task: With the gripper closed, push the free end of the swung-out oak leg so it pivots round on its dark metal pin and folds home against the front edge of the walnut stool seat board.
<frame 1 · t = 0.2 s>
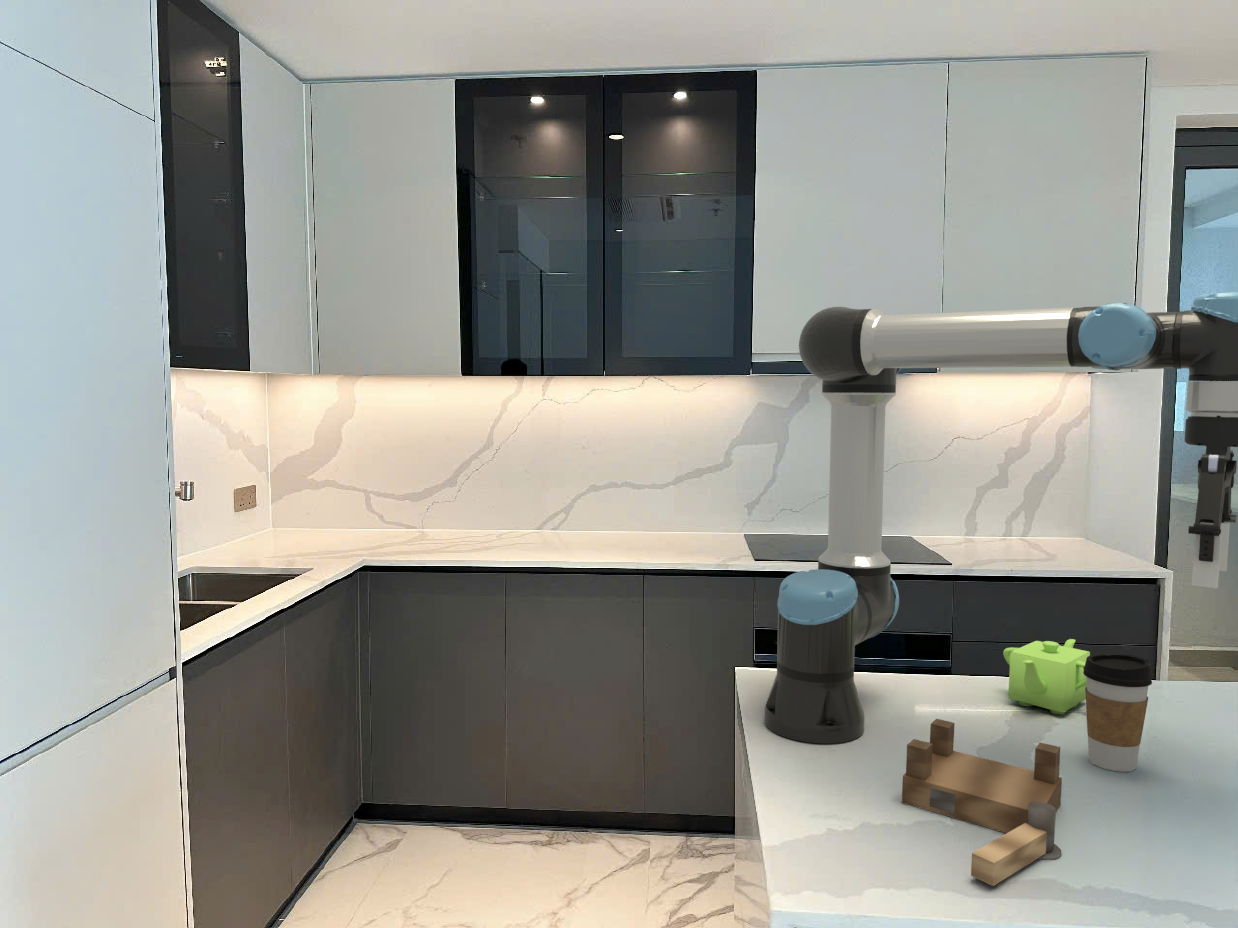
hand: (1209, 577, 116), 28 cm above the counter, fingers open, 13 cm apart
hinged leg: (1016, 840, 97), point 3 cm above the counter, hinge at 75.0°
coffee cup: (1112, 764, 124), on the counter
stool top: (981, 803, 112), on the counter
teapot: (1047, 705, 148), on the counter
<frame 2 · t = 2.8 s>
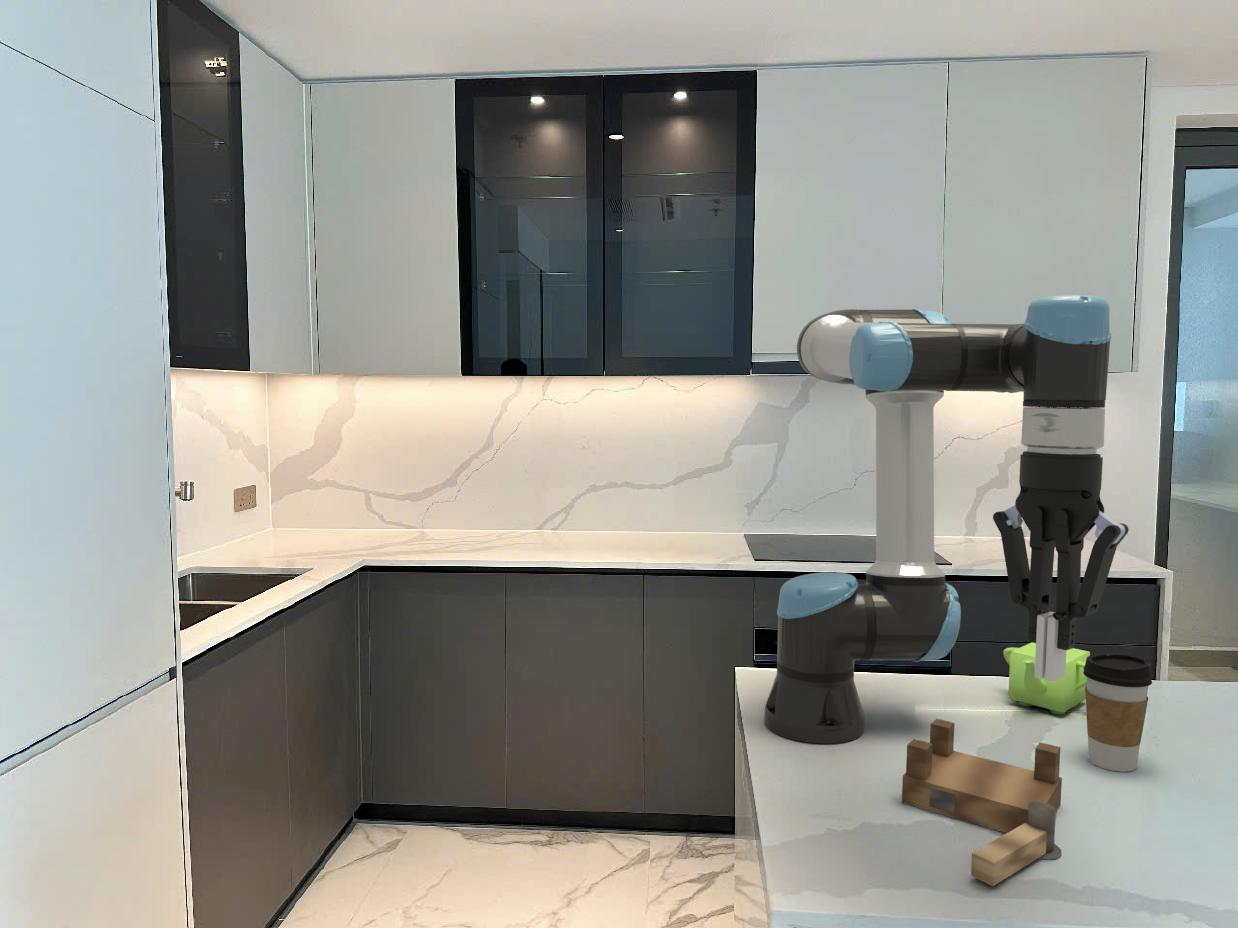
hand: (1049, 676, 92), 22 cm above the counter, fingers closed
nothing on the counter moved.
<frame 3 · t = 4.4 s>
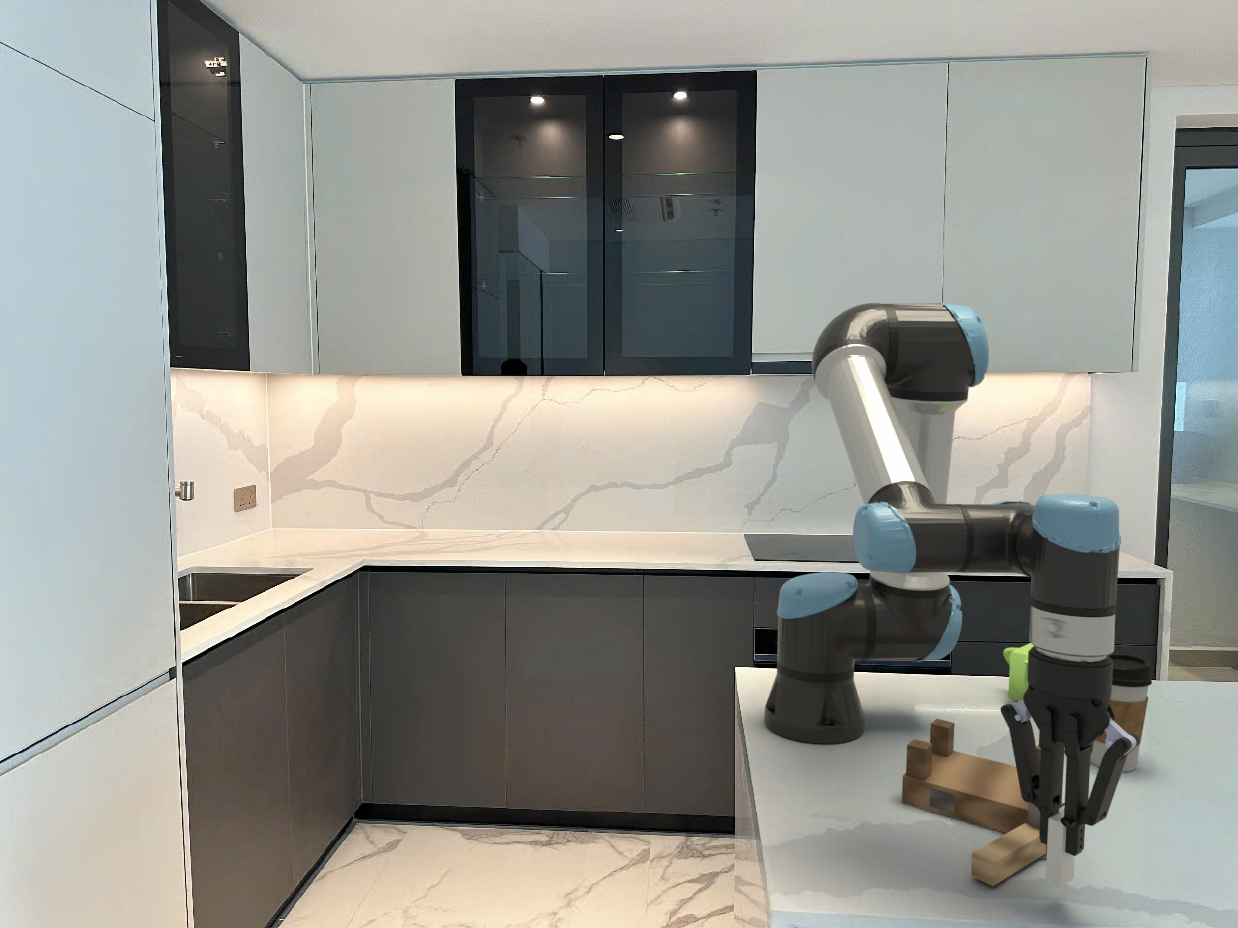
hand: (1059, 878, 90), 3 cm above the counter, fingers closed
nothing on the counter moved.
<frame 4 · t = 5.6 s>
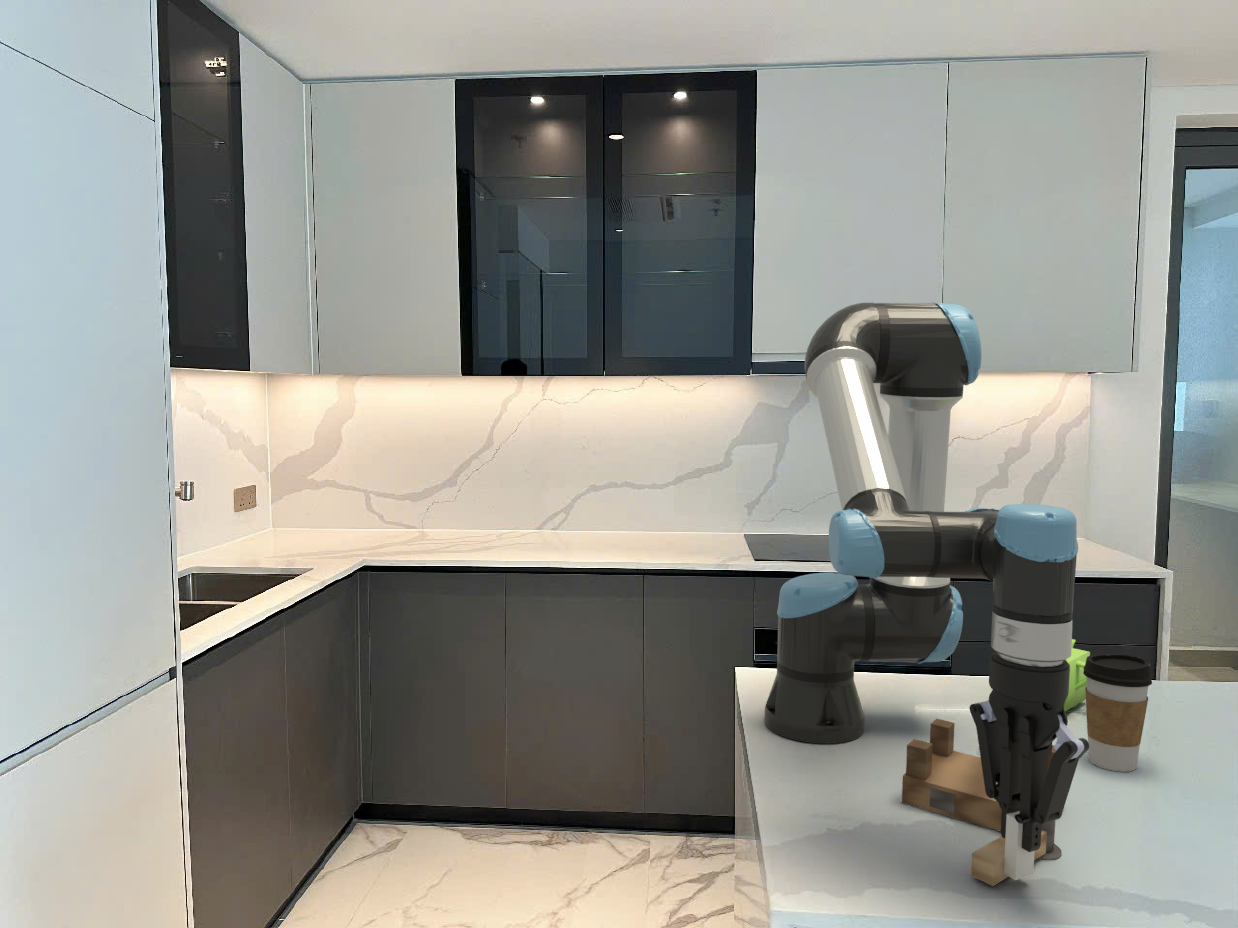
hand: (1018, 873, 93), 1 cm above the counter, fingers closed
hinged leg: (1016, 840, 97), point 3 cm above the counter, hinge at 75.0°, touching gripper
everything else where it was.
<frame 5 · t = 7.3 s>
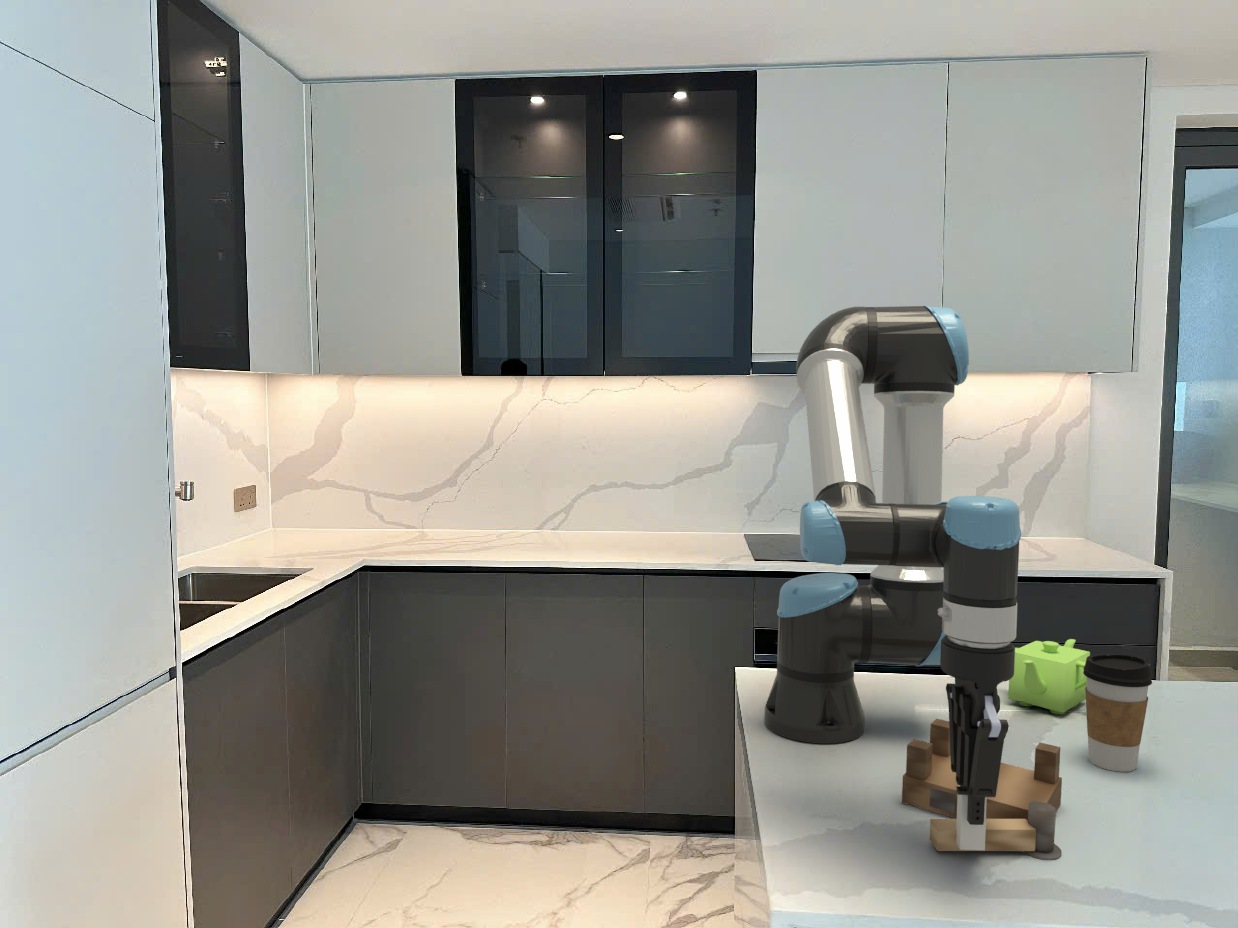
hand: (970, 846, 98), 1 cm above the counter, fingers closed
hinged leg: (993, 826, 100), point 3 cm above the counter, hinge at 38.2°, touching gripper
everything else where it was.
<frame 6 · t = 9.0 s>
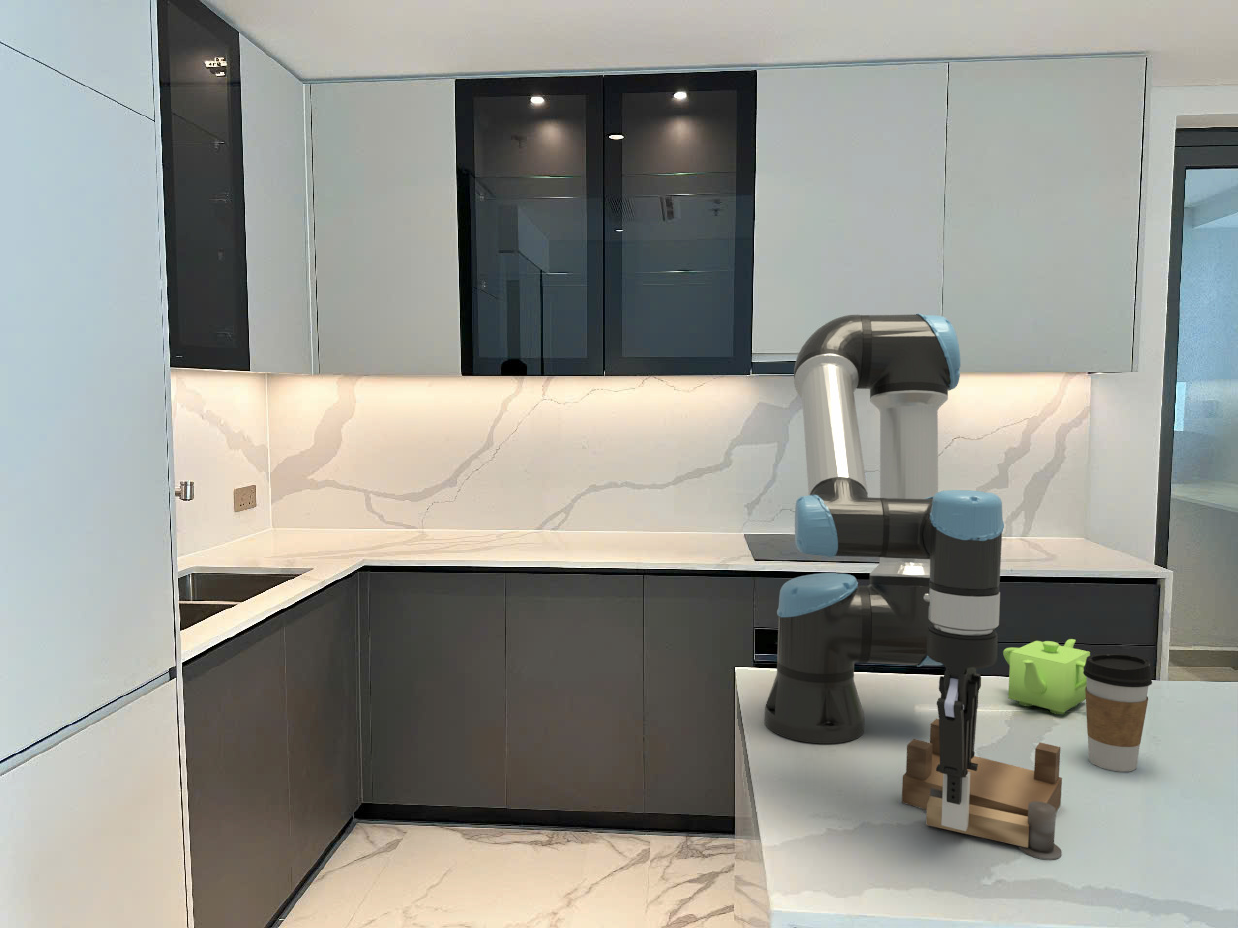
hand: (954, 825, 103), 2 cm above the counter, fingers closed
hinged leg: (989, 815, 103), point 3 cm above the counter, hinge at 9.8°, touching gripper
everything else where it was.
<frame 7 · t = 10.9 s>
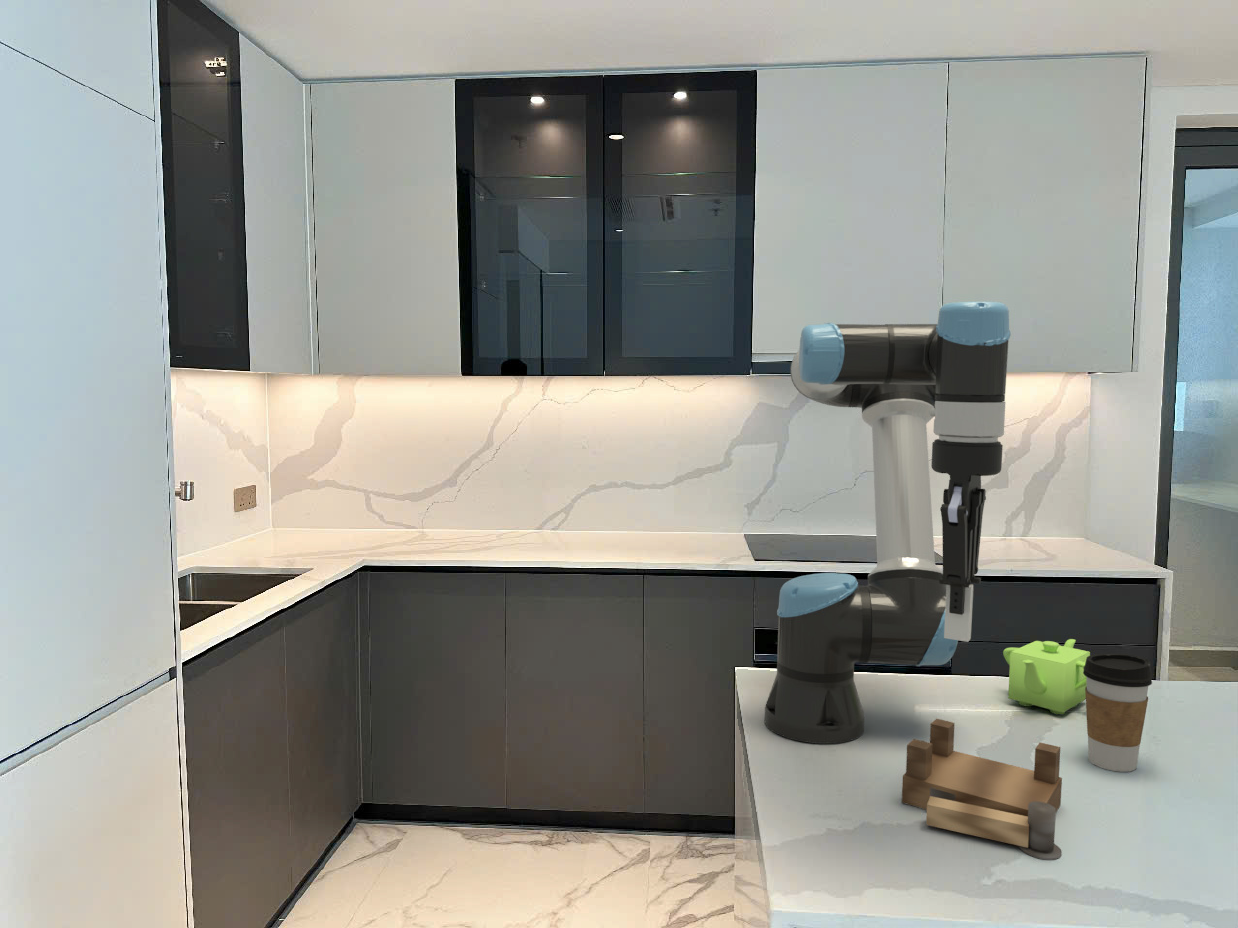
hand: (957, 638, 104), 23 cm above the counter, fingers closed
hinged leg: (989, 815, 103), point 3 cm above the counter, hinge at 9.7°
everything else where it was.
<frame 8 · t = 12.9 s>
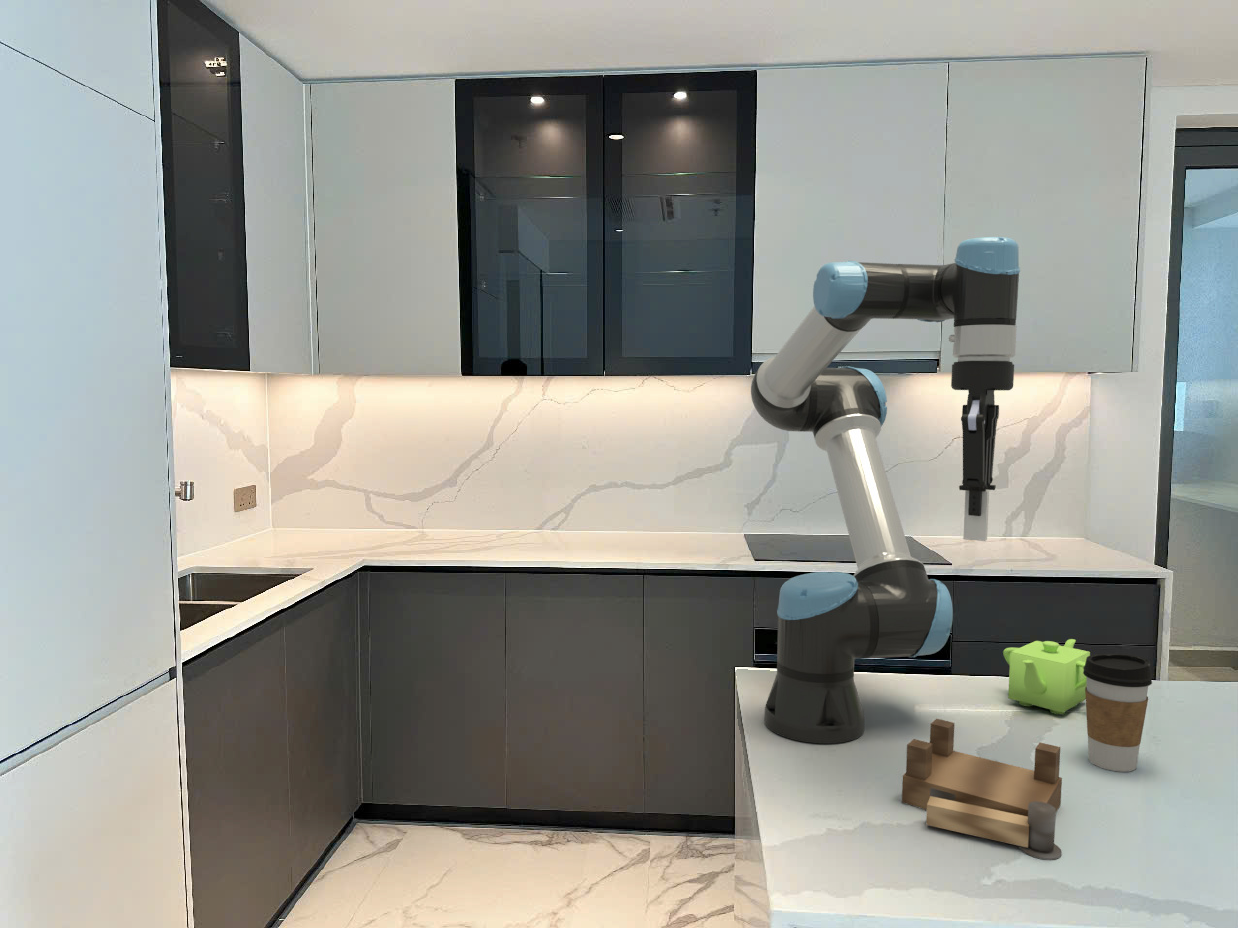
hand: (975, 539, 117), 32 cm above the counter, fingers closed
nothing on the counter moved.
at the end: hinged leg at +10° (first picture: +75°); hinged leg touching nothing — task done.
